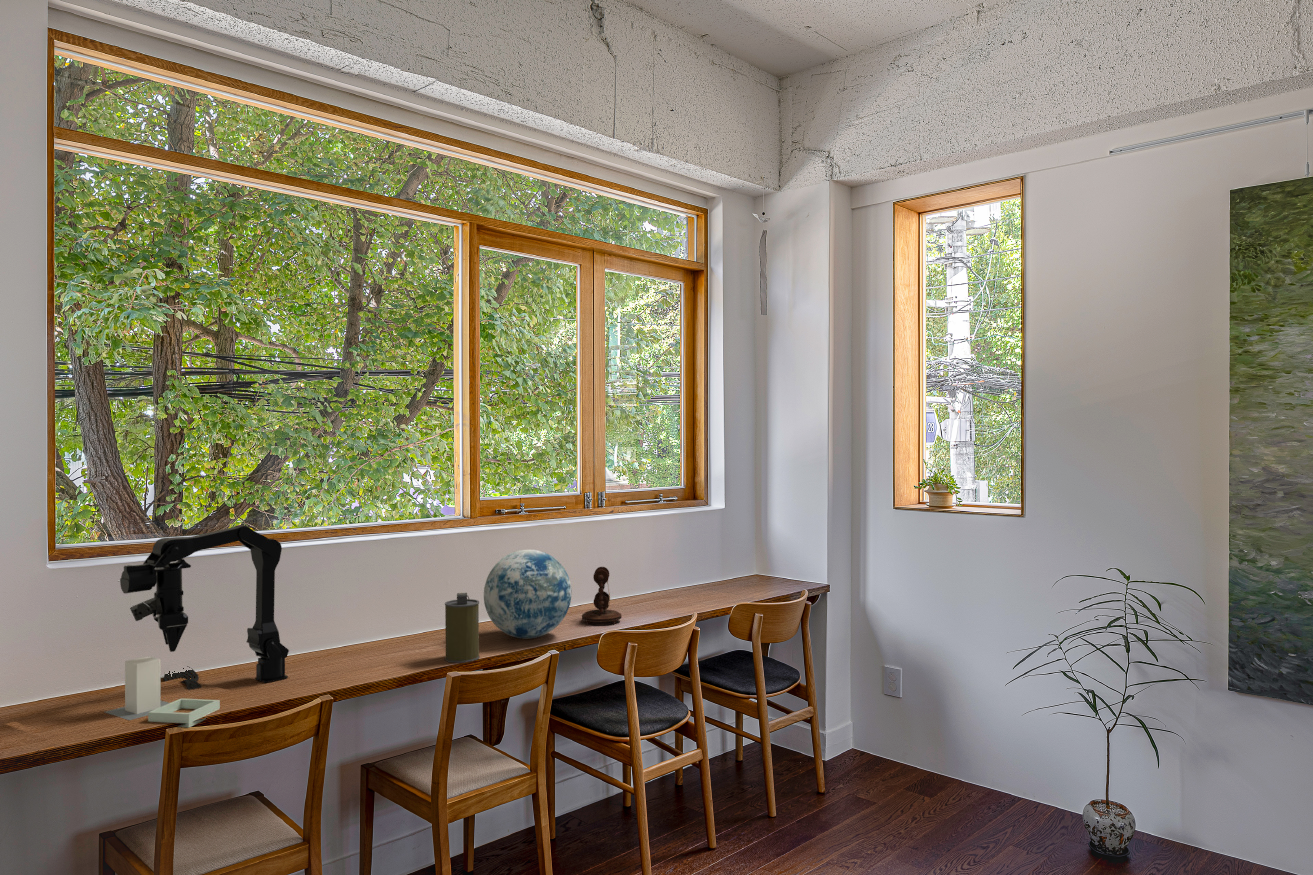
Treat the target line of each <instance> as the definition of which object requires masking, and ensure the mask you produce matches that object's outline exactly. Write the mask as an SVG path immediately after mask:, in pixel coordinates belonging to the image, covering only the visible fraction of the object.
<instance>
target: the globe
mask: <svg viewBox="0 0 1313 875" xmlns="http://www.w3.org/2000/svg"><path fill="white" fill-rule="evenodd" d="M572 594H573V593H572V584H571V579H570V577H569V575H568V573H567V570H566V568H565V567H564V566H563V565H562V563H560V561H559V560H557V558H555V557H554V556H552V555H551V554H549V553H546V552H544V551H541V550H537V549H519V550H517V551H513V552H511V553H509V554H507V555H505V556H504V557H502V558H501V559H500V560H499V561H497V562H496V563H495V565H494V566H493V567H492V568H491V570H490V571H489V572H488V576H487V577H486V580H485V583H484V588H483V604H484V608H485V611H486V613H487V616H488V617H489V619H490V620H491V622H492V623H493V624H494V625H495V627H496V628H498V629H499V630H500V631H501V632H503V633H505V634H506V635H508V636H511V637H513V638H517V639H528V640H529V639H535V638H539V637H543V636H545V635H547V634H549V633H550V632H552V631H553V630H555V629H556V628H557V627H558V626H559V625H560V623H562V621H563V620H564V618H566V615H567V613H568V611H569V609H570V606H571V603H572V601H571V600H572Z"/></svg>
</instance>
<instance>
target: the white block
mask: <svg viewBox="0 0 1313 875" xmlns="http://www.w3.org/2000/svg"><path fill="white" fill-rule="evenodd" d="M160 700H161V658H157V657H153V656H145V657H139V658H135V659H130V660H126V661H124V707H125V710H126V711H129V712H132V713H135V714H139V713H143V712H146V711H150V710H154V709H157V708H160Z"/></svg>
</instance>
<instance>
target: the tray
mask: <svg viewBox="0 0 1313 875" xmlns="http://www.w3.org/2000/svg"><path fill="white" fill-rule="evenodd" d="M220 701H221V700H220V699H199V698H198V699H196V698H179V699H177V700H174V701H172V702H171V701H170V702H168V703H169V704H167V705H164V706H162V707H160V708H157V709H155V710H153V711H150V712H148V716H147V719H148V720H147V721H148V722H153V723H154V722H155V723H168V724H169V723H173V724H174V723H175V724H181V725H176V728H187V729H188V728H189V729H190V728H191V727H193V726H195V725H197V724H199V723H202V722H203V721H205V720H207V719H206V718H207V717H205V716H209V714H212V713H214V712H216V711H218V710H220V709H221V708H220V707H221V705H220V704H221V703H220ZM182 709H187V710H188V709H190V710H191V711H190V712H177V711H179V710H182ZM203 717H205V718H203Z"/></svg>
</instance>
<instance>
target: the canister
mask: <svg viewBox="0 0 1313 875" xmlns="http://www.w3.org/2000/svg"><path fill="white" fill-rule="evenodd" d="M479 604H480V601H479V600H478V599H473V598H470V597H469V595H468V593H467V592H458V593H457V594H456V599H451V600H448V601H447V600H446V601H445V603H444V606H445V612H444V613H445V616H444V617H445V618H444V619H445V657H444V661H446V662H448V663H453V664H461V663H462V664H463V663H465V664H466V663H471V662H474V660H475V661H477V660H478V659H480V652H479V650H480V644H479V643H480V642H479V641H480V638H479V635H480V634H479V633H480V632H479V628H480V625H479V614H480V613H479V612H480V611H479Z"/></svg>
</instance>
